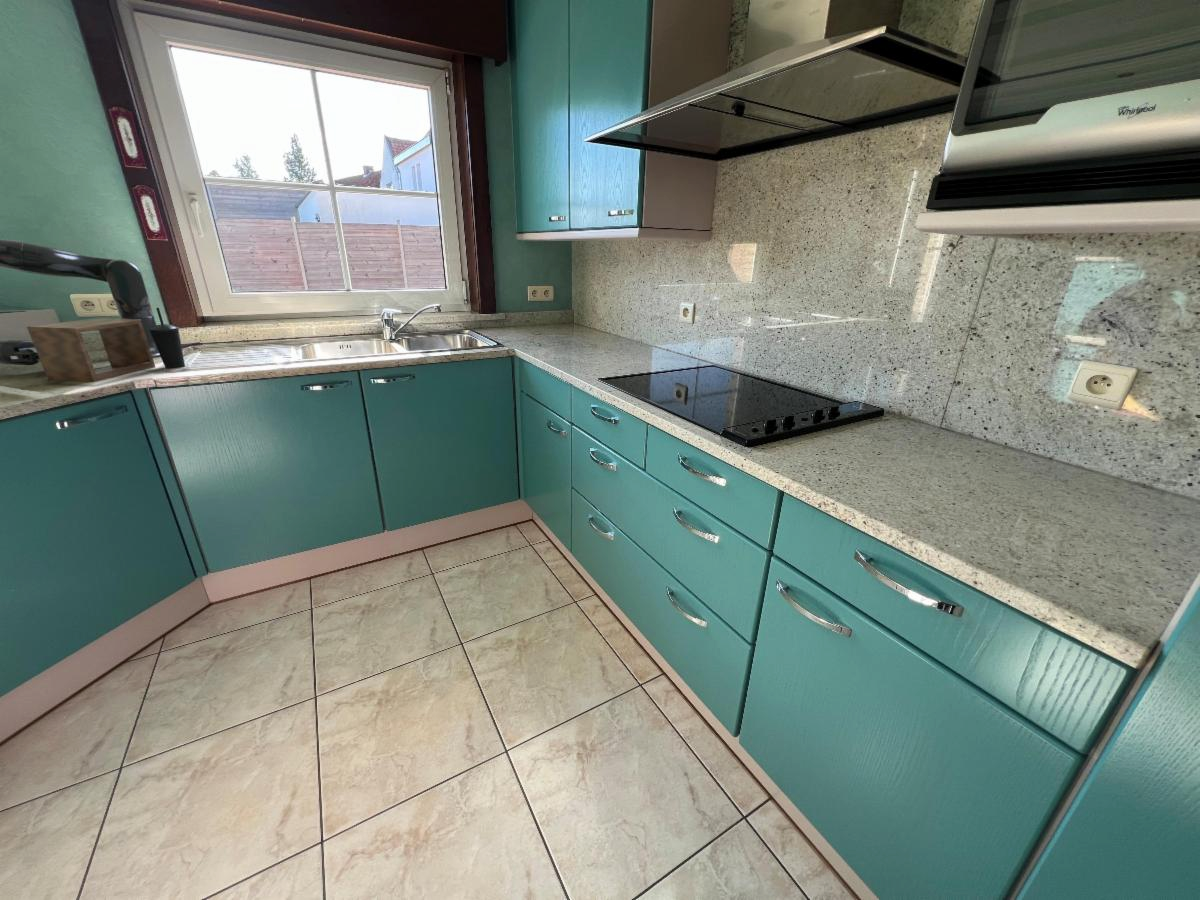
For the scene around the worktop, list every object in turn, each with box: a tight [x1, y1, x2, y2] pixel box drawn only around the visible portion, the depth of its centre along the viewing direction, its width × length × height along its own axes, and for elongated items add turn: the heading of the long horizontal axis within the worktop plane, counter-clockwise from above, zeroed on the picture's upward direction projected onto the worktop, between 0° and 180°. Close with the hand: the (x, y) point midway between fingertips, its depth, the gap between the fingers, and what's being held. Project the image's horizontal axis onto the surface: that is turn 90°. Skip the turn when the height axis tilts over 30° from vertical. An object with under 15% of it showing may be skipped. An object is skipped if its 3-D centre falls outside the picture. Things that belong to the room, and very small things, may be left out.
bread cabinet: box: [26, 317, 156, 383], centre depth 149 cm, size 14×20×16 cm
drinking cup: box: [148, 307, 186, 370], centre depth 158 cm, size 8×8×20 cm
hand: (67, 354), depth 150 cm, fingers closed on bottle, 5 cm apart
